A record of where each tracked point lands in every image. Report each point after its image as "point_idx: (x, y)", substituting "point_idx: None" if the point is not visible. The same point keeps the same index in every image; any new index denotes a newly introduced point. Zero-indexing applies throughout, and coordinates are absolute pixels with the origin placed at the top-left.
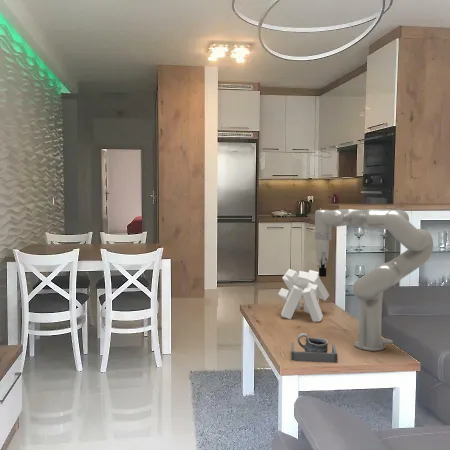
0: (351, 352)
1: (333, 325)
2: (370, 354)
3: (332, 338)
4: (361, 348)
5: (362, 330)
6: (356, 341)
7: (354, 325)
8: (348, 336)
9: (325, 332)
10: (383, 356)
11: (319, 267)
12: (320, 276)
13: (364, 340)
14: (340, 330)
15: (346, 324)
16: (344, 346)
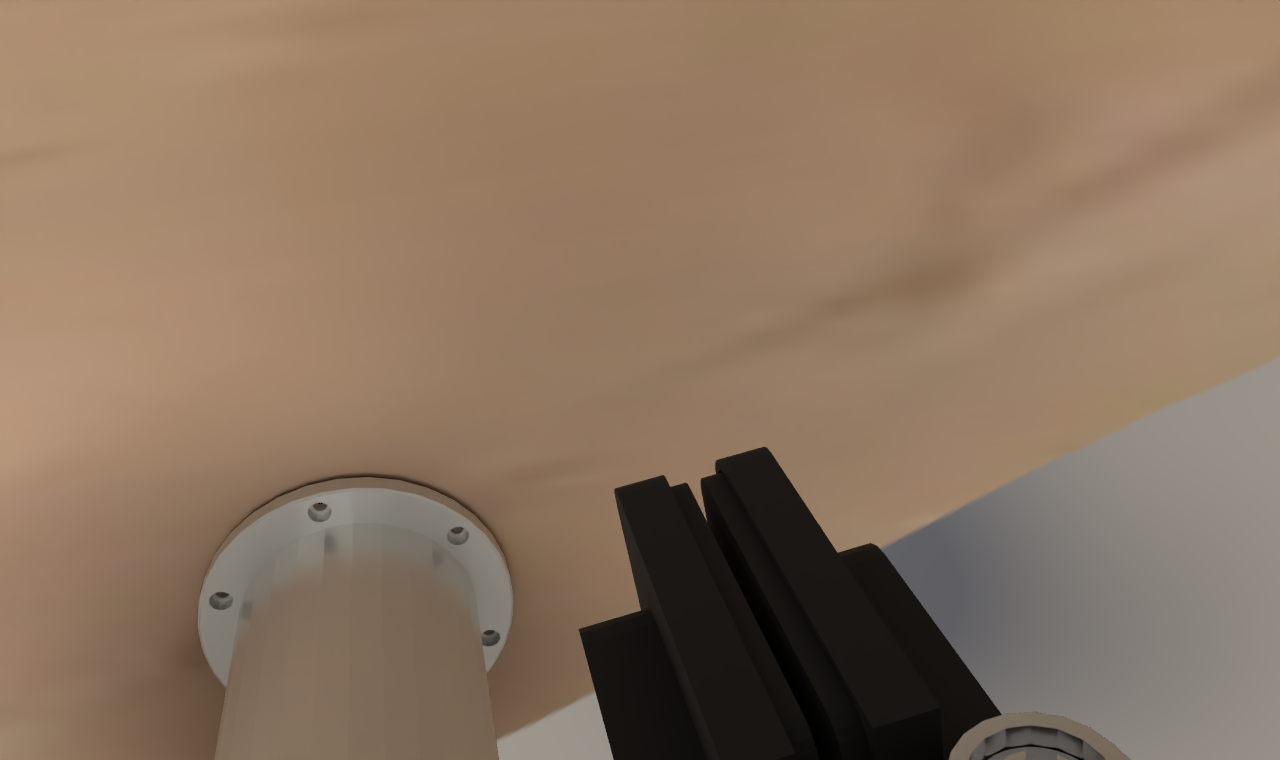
0: (52, 487)
1: (1104, 129)
2: (93, 650)
3: (527, 207)
4: (211, 564)
5: (237, 691)
6: (402, 497)
7: (1127, 351)
8: (674, 362)
9: (770, 81)
10: (95, 749)
11: (921, 737)
12: (623, 527)
13: (236, 637)
14: (899, 242)
15: (1160, 266)
16: (250, 386)
